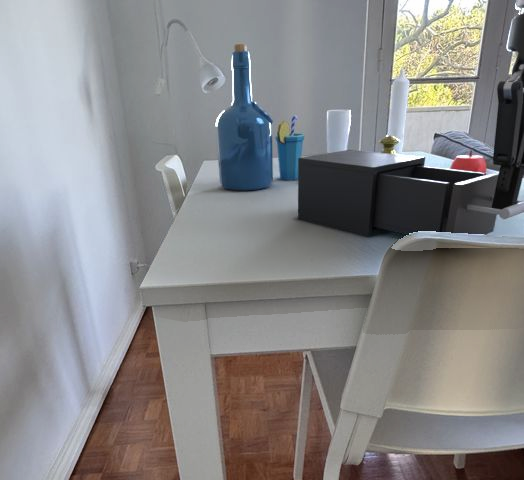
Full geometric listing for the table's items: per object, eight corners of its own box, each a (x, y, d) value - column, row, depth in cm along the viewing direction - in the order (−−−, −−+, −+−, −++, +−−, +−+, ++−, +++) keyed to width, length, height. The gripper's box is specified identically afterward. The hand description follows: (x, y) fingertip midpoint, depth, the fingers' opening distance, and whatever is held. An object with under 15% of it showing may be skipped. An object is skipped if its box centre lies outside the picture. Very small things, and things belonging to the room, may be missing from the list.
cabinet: (417, 220, 85) (425, 157, 80) (368, 236, 78) (374, 167, 72) (346, 206, 96) (349, 149, 91) (297, 218, 89) (298, 157, 84)
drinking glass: (350, 167, 139) (353, 110, 131) (327, 168, 138) (329, 111, 131) (344, 163, 145) (347, 109, 137) (323, 164, 144) (324, 110, 137)
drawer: (533, 239, 71) (549, 177, 66) (492, 259, 64) (507, 191, 59) (409, 215, 85) (416, 162, 81) (364, 228, 78) (369, 172, 74)
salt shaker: (406, 177, 122) (411, 135, 117) (386, 181, 118) (390, 138, 114) (384, 174, 127) (388, 133, 122) (365, 177, 124) (368, 136, 119)
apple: (457, 191, 105) (464, 153, 101) (440, 185, 112) (445, 149, 108) (490, 189, 106) (498, 151, 102) (471, 183, 113) (477, 147, 109)
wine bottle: (218, 192, 112) (207, 43, 97) (221, 182, 124) (212, 47, 109) (275, 190, 112) (273, 41, 97) (273, 180, 124) (271, 45, 109)
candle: (404, 164, 141) (414, 66, 129) (406, 167, 135) (417, 66, 123) (379, 164, 142) (388, 68, 130) (380, 167, 136) (389, 67, 124)
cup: (283, 173, 133) (282, 114, 126) (309, 173, 131) (311, 113, 124) (269, 182, 122) (268, 118, 114) (298, 183, 120) (299, 117, 112)
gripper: (540, 15, 61) (498, 201, 73) (489, 12, 54) (452, 217, 66) (605, 9, 56) (549, 209, 68) (558, 4, 49) (505, 228, 61)
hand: (501, 213), depth 67 cm, fingers closed
